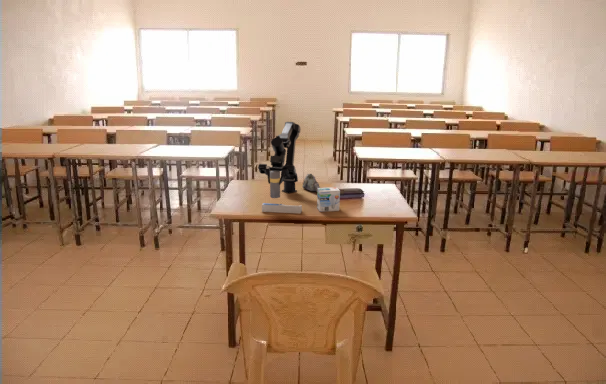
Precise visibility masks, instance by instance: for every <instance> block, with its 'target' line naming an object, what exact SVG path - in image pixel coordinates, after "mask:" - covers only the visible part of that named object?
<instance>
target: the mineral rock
mask: <svg viewBox="0 0 606 384" xmlns="http://www.w3.org/2000/svg"><path fill="white" fill-rule="evenodd" d="M318 188H321V186H320V184H319V182H318V181H317V180H316V176H315V175H314V174H312V173H307V174H306V176H305V177H304V179H303V182H302V189H305V190H307V191H310V192H317V189H318Z"/></svg>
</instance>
